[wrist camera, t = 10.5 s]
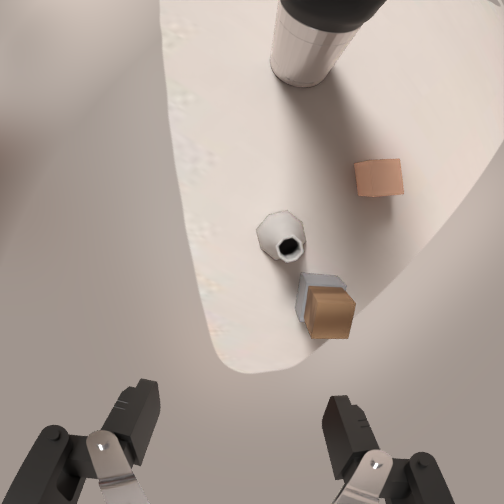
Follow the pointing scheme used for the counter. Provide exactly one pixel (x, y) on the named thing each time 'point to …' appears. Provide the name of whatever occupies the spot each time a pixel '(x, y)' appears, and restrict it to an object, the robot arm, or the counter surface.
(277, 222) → the flask
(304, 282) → the grey base block
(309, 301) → the walnut cube
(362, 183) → the terracotta cube
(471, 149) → the counter surface
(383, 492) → the robot arm
